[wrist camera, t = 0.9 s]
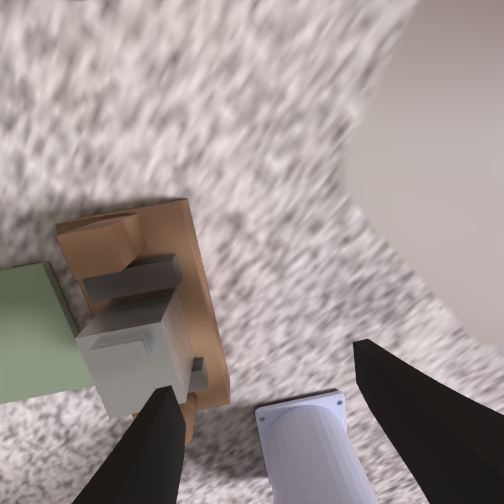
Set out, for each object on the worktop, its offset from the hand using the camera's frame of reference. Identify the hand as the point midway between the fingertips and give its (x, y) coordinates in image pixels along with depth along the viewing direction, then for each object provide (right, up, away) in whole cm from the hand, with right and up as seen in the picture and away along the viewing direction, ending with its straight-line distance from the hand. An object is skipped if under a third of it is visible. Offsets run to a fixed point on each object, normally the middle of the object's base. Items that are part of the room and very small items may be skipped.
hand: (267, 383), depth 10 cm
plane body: (-7, +1, +9) cm, 11 cm away
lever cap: (-7, 0, +7) cm, 9 cm away
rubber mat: (-18, -1, +8) cm, 20 cm away
